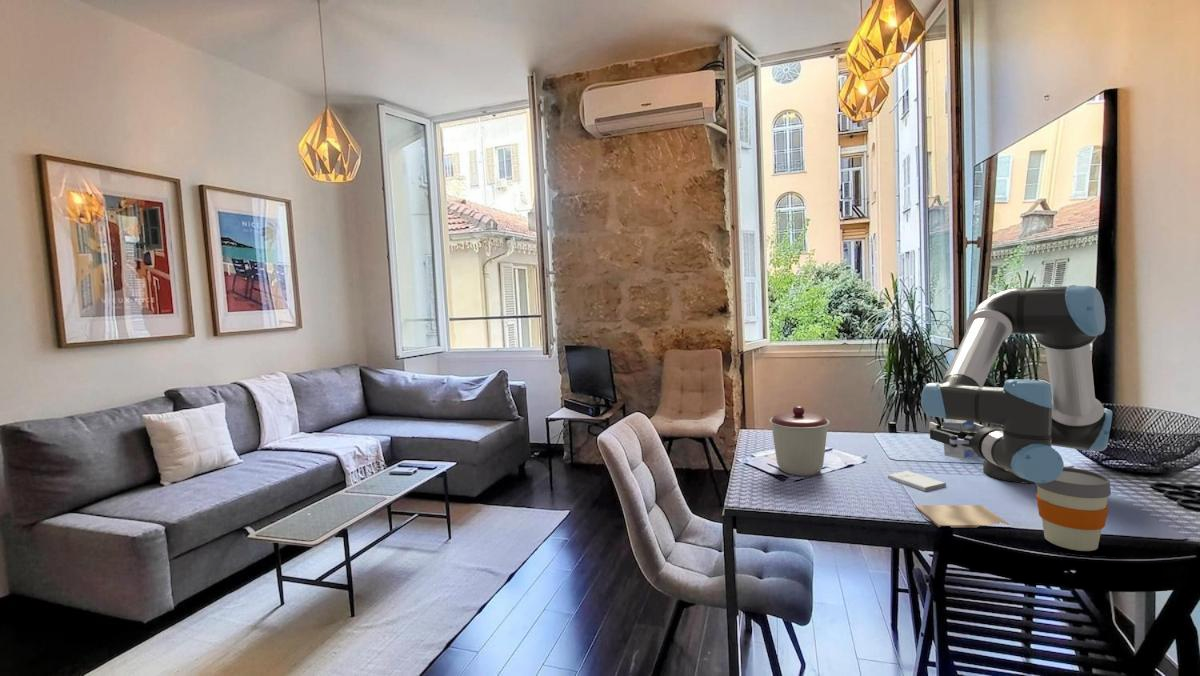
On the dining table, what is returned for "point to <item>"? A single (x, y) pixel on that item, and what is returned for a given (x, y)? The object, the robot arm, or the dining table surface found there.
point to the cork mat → (960, 515)
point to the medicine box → (959, 450)
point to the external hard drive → (916, 480)
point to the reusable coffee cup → (1074, 508)
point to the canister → (799, 441)
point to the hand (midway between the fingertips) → (949, 426)
